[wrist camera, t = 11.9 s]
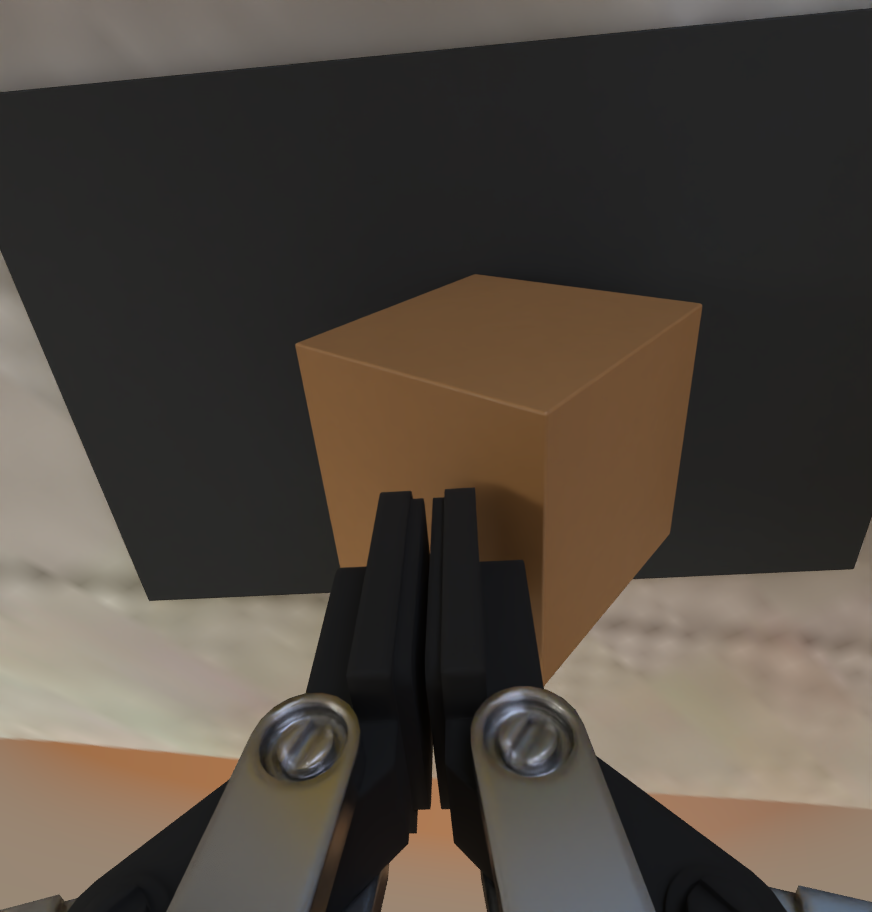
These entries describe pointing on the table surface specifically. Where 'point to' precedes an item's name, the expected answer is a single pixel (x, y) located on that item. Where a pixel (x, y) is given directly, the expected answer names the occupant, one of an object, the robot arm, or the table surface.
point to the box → (513, 430)
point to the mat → (454, 269)
